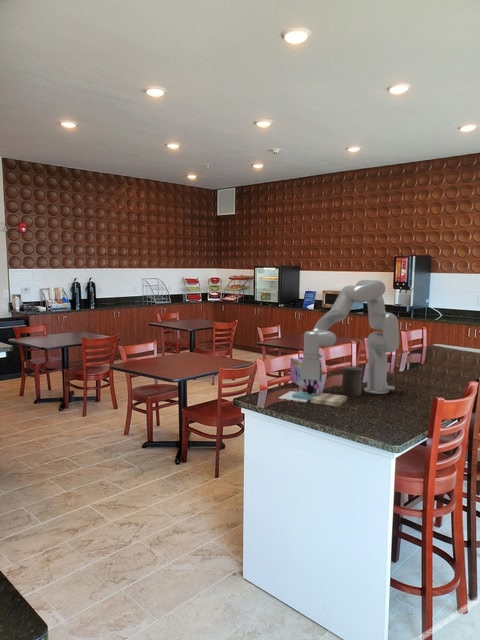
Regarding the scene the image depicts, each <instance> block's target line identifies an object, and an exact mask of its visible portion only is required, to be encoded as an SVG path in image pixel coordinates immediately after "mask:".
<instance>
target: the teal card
mask: <svg viewBox="0 0 480 640" xmlns="http://www.w3.org/2000/svg"><path fill="white" fill-rule="evenodd" d="M295 392H296V393H294V394H293V395H292V398H297V399H305V400H309V401H310V398H312V397H313V396H315V395H316V394H317V393H314V392H313V393H312V394H308V392H307V391H305V392H304V391H295Z"/></svg>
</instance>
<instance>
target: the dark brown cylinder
mask: <svg viewBox="0 0 480 640" xmlns="http://www.w3.org/2000/svg"><path fill="white" fill-rule="evenodd" d="M362 378H363V367H358V366H353V365H351V366H343V368H342V381H341V394H342V395H343V396H347V397H360V396H361V395H362V380H363V379H362Z"/></svg>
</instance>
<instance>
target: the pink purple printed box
mask: <svg viewBox="0 0 480 640" xmlns="http://www.w3.org/2000/svg"><path fill="white" fill-rule="evenodd" d="M303 358H304V356H303V357H302V356H300V357H299V358H297V357H295V358H293V357H290V366H289V368H290V369H289V381H290V382H291V383H293V384H295V385H297V386H299V387H301V388H303V389H305V390H307V385H306V383H305V382H304V381H301V380H300V369H301V363H302V359H303ZM311 381H312V380H310V384H311ZM319 387H320V383H316V384H315V385H314V390H318V389H319Z"/></svg>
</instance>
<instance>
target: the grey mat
mask: <svg viewBox="0 0 480 640" xmlns="http://www.w3.org/2000/svg"><path fill="white" fill-rule="evenodd" d="M296 392H297V391H291V390H289V391H288V392H287V393H285V394H283V395H280V396H279V397H278V400H284V399H286V400H285V401H291V400H293V401H292V402H298V401H300V402H299V403H305V402H306V403H307V402H309V401H310V400H305V399H297V398H292V395H293V394H294V393H296Z"/></svg>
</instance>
